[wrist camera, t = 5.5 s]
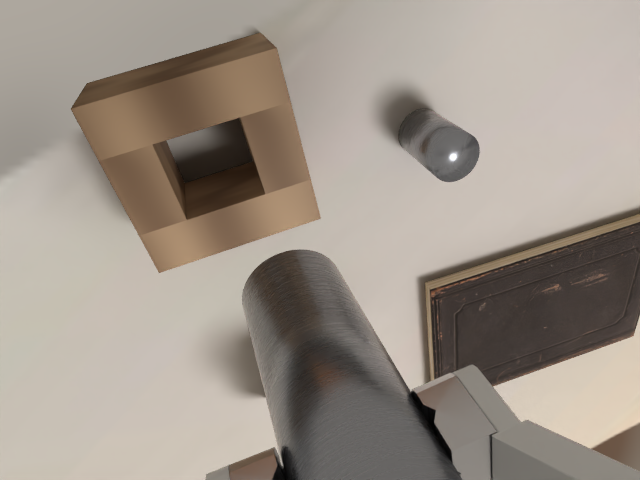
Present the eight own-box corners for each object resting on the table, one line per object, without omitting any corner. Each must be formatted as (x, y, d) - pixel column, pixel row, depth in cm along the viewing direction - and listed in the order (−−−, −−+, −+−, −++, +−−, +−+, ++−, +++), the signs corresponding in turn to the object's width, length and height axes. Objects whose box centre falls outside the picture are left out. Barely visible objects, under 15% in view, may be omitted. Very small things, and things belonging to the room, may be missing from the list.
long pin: (330, 235, 14) (579, 624, 6) (349, 312, 16) (560, 694, 8) (227, 271, 14) (337, 748, 5) (259, 346, 15) (378, 790, 7)
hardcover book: (419, 276, 41) (431, 292, 39) (648, 203, 43) (669, 214, 42) (427, 392, 49) (437, 409, 48) (616, 325, 52) (632, 339, 50)
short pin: (439, 102, 32) (478, 125, 28) (442, 145, 34) (479, 172, 30) (396, 116, 32) (429, 141, 27) (401, 158, 33) (433, 188, 29)
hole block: (260, 32, 27) (276, 47, 23) (301, 184, 32) (320, 218, 28) (86, 83, 26) (70, 108, 22) (160, 230, 31) (159, 272, 27)
